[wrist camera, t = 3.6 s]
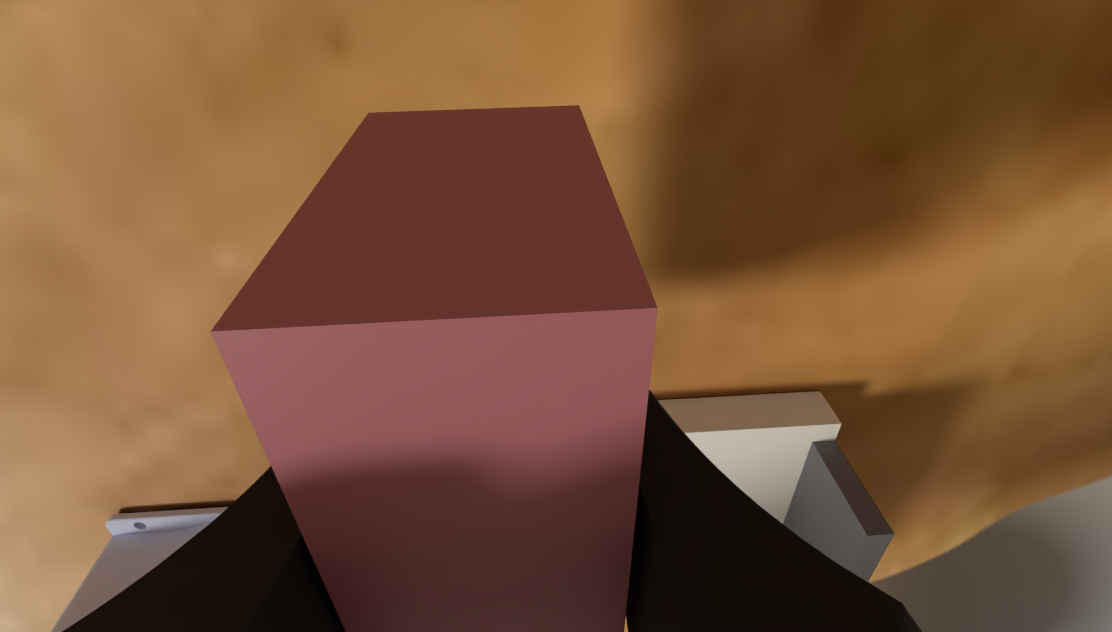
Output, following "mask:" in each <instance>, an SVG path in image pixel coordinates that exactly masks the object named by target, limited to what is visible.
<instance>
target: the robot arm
mask: <svg viewBox="0 0 1112 632" xmlns="http://www.w3.org/2000/svg"><path fill="white" fill-rule="evenodd" d="M106 527H107V528H108V530H109V531H110V532H111V534H112V535H113V536H112V537H111V539H110V540H109V542H108V543H107V545H106V547H105V548H104V550H103V551H102V553H101V554H100V556H99V558H98V559H97V561H96V562H95V564H94V565H93V567H92V568H91V570H90V572H89V573H88V575H87V576H86V578H85V579H84V581H83V583H82V584H81V586H80V587H79V589H78V590H77V592H76V593H75V595H74V597H73V598H72V600H71V601H70V603H69V604H68V606H67V607H66V609H65V611H64V612H63V614H62V615H61V617H60V618H59V620H58V622H57V623H56V625H55V626H54V628H53V629H52V631H51V632H346V631H345V629H344V627H343V625H342V622H341V620H340V618H339V616H338V613H337V611H336V609H335V607H334V605H333V602H332V600H331V598H330V596H329V593H328V591H327V589H326V587H325V585H324V582H323V580H322V578H321V576H320V573H319V571H318V569H317V567H316V565H315V562H314V560H313V558H312V556H311V553H310V551H309V549H308V547H307V545H306V542H305V540H304V538H303V536H302V533H301V531H300V529H299V527H298V525H297V522H296V520H295V518H294V516H293V513H292V511H291V509H290V507H289V505H288V502H287V500H286V498H285V496H284V493H283V491H282V489H281V487H280V485H279V482H278V480H277V478H276V476H275V473H274V471H273V469H272V467H271V466H270V467H269V469H268V470H267V471H266V472H265V473H264V474H263V475H262V476H261V477H260V478H259V479H258V480H257V481H256V482H255V483H254V484H253V485H252V486H251V487H250V488H249V489H248V490H247V491H246V492H244V493H243V494H242V495H241V496H240V497H239V498H238V499H237V500H236V501H235V502H234V503H233V504H231V505H230V506H229V507H216V508H201V509H185V510H169V511H153V512H138V513H122V514H114V515H112V516H110V518H109V519H108V521H107V522H106ZM626 619H627V626H628V632H922V631H921V629H920V628H919V627H918V625H917V624H916V623H915V621H914V620H913V618H912V617H911V616H910V614H909V613H908V611H907V610H906V608H905V607H904V605H903V604H902V603H901V602H899V601H897V600H896V599H894V598H893V597H891V596H889V595H888V594H886V593H884V592H883V591H881V590H880V589H878V588H876V587H875V586H873V585H872V584H870V583H868V582H867V581H865V580H863V579H862V578H860V577H859V576H857V575H855V574H854V573H852V572H850V571H849V570H847V569H846V568H844V567H842V566H841V565H839V564H838V563H836V562H835V561H833V560H832V559H830V558H829V557H827V556H826V555H825V554H823V553H822V552H820V551H819V550H817V549H816V548H814V547H813V546H812V545H810V544H809V543H807V542H806V541H804V540H803V539H802V538H800V537H799V536H798V535H796V534H795V533H794V532H793V531H791V530H790V529H789V528H787V527H786V526H785V525H784V524H782V523H781V522H780V521H778V520H777V519H776V518H775V517H773V516H772V515H771V514H769V513H768V512H767V511H766V510H764V509H763V508H762V507H761V506H759V505H758V504H757V503H756V502H755V501H753V500H752V499H751V498H750V497H749V496H748V495H747V494H745V493H744V492H743V491H742V490H741V489H740V488H739V487H737V486H736V485H735V484H734V483H733V482H732V481H731V480H730V479H729V478H728V477H727V476H726V475H725V474H724V473H722V472H721V471H720V470H719V469H718V468H717V467H716V466H715V465H714V464H713V463H712V462H711V461H710V460H709V459H708V458H707V457H706V456H705V455H704V454H703V453H702V452H701V451H700V449H699V448H698V447H697V446H696V445H695V444H694V443H693V442H692V441H691V440H690V439H689V437H688V436H687V435H686V434H685V433H684V432H683V431H682V430H681V428H680V427H679V426H678V425H677V424H676V423H675V421H674V420H673V419H672V418H671V416H670V415H669V414H668V413H667V412H666V410H665V409H664V408H663V407H662V405H661V404H660V403H659V402H658V400H657V399H656V398H655V396H654V395H653V394H652V392H651V391H650V390H649V394H648V404H647V413H646V423H645V433H644V442H643V452H642V462H641V471H640V481H639V491H638V500H637V510H636V520H635V529H634V539H633V549H632V558H631V568H630V578H629V587H628V597H627V607H626Z"/></svg>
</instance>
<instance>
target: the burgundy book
mask: <svg viewBox="0 0 1112 632" xmlns="http://www.w3.org/2000/svg"><path fill="white" fill-rule="evenodd" d="M656 317H657V306H656V303H655V300H654V298H653V295H652V293H651V290H650V288H649V285H648V282H647V280H646V277H645V275H644V272H643V269H642V267H641V264H640V262H639V259H638V257H637V254H636V251H635V249H634V246H633V244H632V241H631V238H630V236H629V233H628V231H627V228H626V226H625V223H624V220H623V218H622V215H621V213H620V210H619V208H618V205H617V202H616V200H615V197H614V195H613V192H612V189H611V187H610V184H609V182H608V179H607V177H606V174H605V171H604V169H603V166H602V164H601V161H600V158H599V156H598V153H597V151H596V148H595V146H594V143H593V140H592V138H591V135H590V133H589V130H588V127H587V125H586V122H585V120H584V117H583V115H582V112H581V109H580V107H579V105H577V106H549V107H520V108H492V109H463V110H435V111H407V112H378V113H368V114H367V116H366V117H365V118H364V120H363V121H362V123H361V124H360V125H359V127H358V128H357V130H356V131H355V132H354V134H353V135H352V136H351V138H350V139H349V141H348V142H347V143H346V145H345V146H344V148H343V149H342V150H341V152H340V153H339V155H338V156H337V157H336V159H335V160H334V161H333V163H332V164H331V166H330V167H329V168H328V170H327V171H326V173H325V174H324V175H323V177H322V178H321V179H320V181H319V182H318V184H317V185H316V186H315V188H314V189H313V191H312V192H311V193H310V195H309V196H308V197H307V199H306V200H305V202H304V203H303V204H302V206H301V207H300V209H299V210H298V211H297V213H296V214H295V215H294V217H293V218H292V220H291V221H290V222H289V224H288V225H287V227H286V228H285V229H284V231H283V232H282V233H281V235H280V236H279V238H278V239H277V240H276V242H275V243H274V245H273V246H272V247H271V249H270V250H269V251H268V253H267V254H266V256H265V257H264V258H263V260H262V261H261V263H260V264H259V265H258V267H257V268H256V270H255V271H254V272H253V274H252V275H251V276H250V278H249V279H248V281H247V282H246V283H245V285H244V286H243V288H242V289H241V290H240V292H239V293H238V294H237V296H236V297H235V299H234V300H233V301H232V303H231V304H230V306H229V307H228V308H227V310H226V311H225V312H224V314H223V315H222V317H221V318H220V319H219V321H218V322H217V324H216V325H215V326H214V328H213V329H212V330H211V333H212V336H213V338H214V340H215V342H216V344H217V347H218V349H219V351H220V353H221V356H222V358H223V360H224V362H225V364H226V367H227V369H228V371H229V373H230V376H231V378H232V380H233V382H234V384H235V387H236V389H237V391H238V393H239V396H240V398H241V400H242V402H243V405H244V407H245V409H246V411H247V413H248V416H249V418H250V420H251V422H252V425H253V427H254V429H255V431H256V433H257V436H258V438H259V440H260V442H261V445H262V447H263V449H264V451H265V453H266V456H267V458H268V460H269V462H270V465H271V467H272V469H273V471H274V473H275V476H276V478H277V480H278V482H279V485H280V487H281V489H282V491H283V493H284V496H285V498H286V500H287V502H288V505H289V507H290V509H291V511H292V513H293V516H294V518H295V520H296V522H297V525H298V527H299V529H300V531H301V533H302V536H303V538H304V540H305V542H306V545H307V547H308V549H309V551H310V553H311V556H312V558H313V560H314V562H315V565H316V567H317V569H318V571H319V573H320V576H321V578H322V580H323V582H324V585H325V587H326V589H327V591H328V593H329V596H330V598H331V600H332V602H333V605H334V607H335V609H336V611H337V613H338V616H339V618H340V620H341V622H342V625H343V627H344V629H345V631H346V632H624V626H625V616H626V607H627V597H628V587H629V578H630V568H631V558H632V549H633V539H634V529H635V520H636V510H637V500H638V491H639V481H640V471H641V462H642V452H643V442H644V433H645V423H646V413H647V404H648V394H649V384H650V375H651V365H652V355H653V346H654V336H655V326H656Z"/></svg>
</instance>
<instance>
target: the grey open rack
mask: <svg viewBox="0 0 1112 632" xmlns="http://www.w3.org/2000/svg"><path fill="white" fill-rule="evenodd" d="M658 402H659V403H660V404H661V405H662V407H663V408H664V409H665V410H666V412H667V413H668V414H669V415H670V416H671V418H672V419H673V420H674V421H675V423H676V424H677V425H678V426H679V427H680V428H681V430H682V431H683V432H684V433H685V434H686V435H687V436H688V437H689V439H690V440H691V441H692V442H693V443H694V444H695V445H696V446H697V447H698V448H699V449H700V451H701V452H702V453H703V454H704V455H705V456H706V457H707V458H708V459H709V460H710V461H711V462H712V463H713V464H714V465H715V466H716V467H717V468H718V469H719V470H720V471H721V472H722V473H724V474H725V475H726V476H727V477H728V478H729V479H730V480H731V481H732V482H733V483H734V484H735V485H736V486H737V487H739V488H740V489H741V490H742V491H743V492H744V493H745V494H747V495H748V496H749V497H750V498H751V499H752V500H753V501H755V502H756V503H757V504H758V505H759V506H761V507H762V508H763V509H764V510H766V511H767V512H768V513H769V514H771V515H772V516H773V517H775V518H776V519H777V520H778V521H780V522H781V523H782V524H784V525H785V526H786V527H787V528H789V529H790V530H791V531H793V532H794V533H795V534H796V535H798V536H799V537H800V538H802V539H803V540H804V541H806V542H807V543H809V544H810V545H812V546H813V547H814V548H816V549H817V550H819V551H820V552H822V553H823V554H825V555H826V556H827V557H829V558H830V559H832V560H833V561H835V562H836V563H838V564H839V565H841V566H842V567H844V568H846V569H847V570H849V571H850V572H852V573H854V574H855V575H857V576H859V577H860V578H862V579H863V580H865V581H867V582H868V581H869V579H870V578H871V576H872V574H873V572H874V570H875V568H876V567H877V565H878V563H879V561H880V559H881V557H882V556H883V554H884V552H885V550H886V548H887V546H888V545H889V543H890V541H891V539H892V537H893V536H894V533H893V531H892V529H891V528H890V526H889V525H888V523H887V522H886V520H885V518H884V517H883V515H882V514H881V512H880V511H879V509H878V507H877V506H876V504H875V503H874V501H873V500H872V498H871V496H870V495H869V493H868V492H867V490H866V488H865V487H864V485H863V484H862V482H861V481H860V479H859V477H858V476H857V474H856V473H855V471H854V470H853V468H852V466H851V465H850V463H849V462H848V460H847V459H846V457H845V455H844V454H843V452H842V451H841V449H840V447H839V446H838V444H837V443H836V441H835V440H836V437H837V434H838V432H839V429H840V427H841V424H842V423H841V422H840V421H839V419H838V418H837V416H836V415H835V413H834V412H833V410H832V409H831V407H830V406H829V404H828V403H827V401H826V400H825V398H824V397H823V395H822V394H821V392H820V391H814V392H796V393H778V394H760V395H742V396H724V397H706V398H688V399H670V400H658Z"/></svg>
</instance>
